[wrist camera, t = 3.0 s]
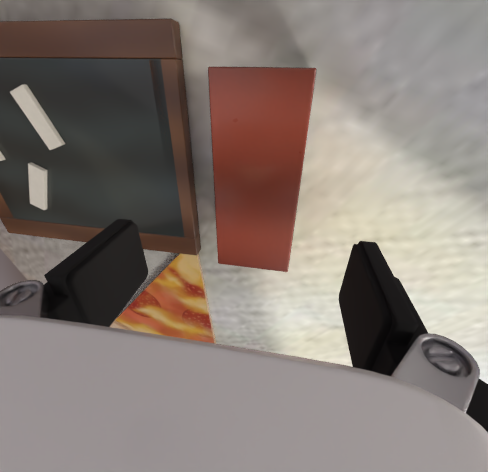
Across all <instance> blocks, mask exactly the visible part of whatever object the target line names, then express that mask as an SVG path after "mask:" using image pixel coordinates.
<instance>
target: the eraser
mask: <svg viewBox="0 0 488 472" xmlns="http://www.w3.org/2000/svg"><path fill="white" fill-rule="evenodd" d="M208 76H209V95H210V114H211V133H212V153H213V172H214V191H215V210H216V229H217V248H218V263H219V264H227V265H235V266H243V267H251V268H259V269H267V270H275V271H283V272H288V267H289V260H290V253H291V246H292V239H293V231H294V224H295V217H296V210H297V203H298V196H299V189H300V182H301V175H302V168H303V161H304V154H305V147H306V140H307V132H308V125H309V118H310V111H311V104H312V97H313V90H314V83H315V76H316V68H279V67H208Z"/></svg>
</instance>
